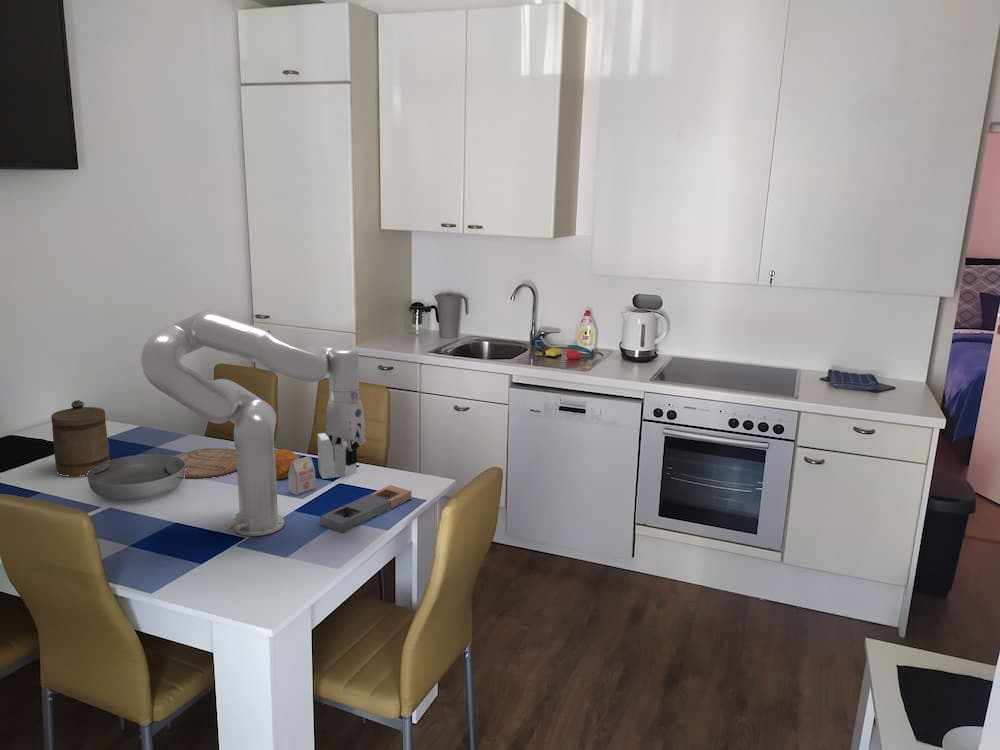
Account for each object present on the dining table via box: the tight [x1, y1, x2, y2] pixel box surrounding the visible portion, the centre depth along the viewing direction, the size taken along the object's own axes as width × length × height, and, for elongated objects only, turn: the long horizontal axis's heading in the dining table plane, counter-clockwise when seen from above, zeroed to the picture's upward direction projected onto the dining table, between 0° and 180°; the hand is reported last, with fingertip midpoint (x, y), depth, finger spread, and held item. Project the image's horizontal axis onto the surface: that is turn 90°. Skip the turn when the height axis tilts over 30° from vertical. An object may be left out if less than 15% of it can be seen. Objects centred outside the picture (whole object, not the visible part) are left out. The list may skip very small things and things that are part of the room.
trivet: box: [173, 447, 237, 480], centre depth 246 cm, size 25×25×2 cm
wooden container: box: [50, 399, 111, 477], centre depth 237 cm, size 15×15×22 cm
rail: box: [319, 484, 412, 533], centre depth 213 cm, size 28×8×2 cm, turn 147°
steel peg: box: [334, 440, 357, 478], centre depth 203 cm, size 4×4×8 cm
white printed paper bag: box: [287, 455, 316, 496], centre depth 226 cm, size 4×7×10 cm, turn 141°
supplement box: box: [317, 432, 346, 480], centre depth 240 cm, size 7×7×13 cm
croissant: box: [275, 448, 301, 480], centre depth 241 cm, size 14×16×8 cm
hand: (345, 461), depth 203 cm, fingers closed on steel peg, 4 cm apart
